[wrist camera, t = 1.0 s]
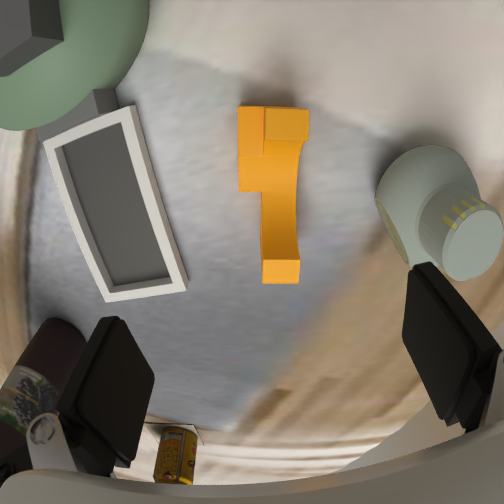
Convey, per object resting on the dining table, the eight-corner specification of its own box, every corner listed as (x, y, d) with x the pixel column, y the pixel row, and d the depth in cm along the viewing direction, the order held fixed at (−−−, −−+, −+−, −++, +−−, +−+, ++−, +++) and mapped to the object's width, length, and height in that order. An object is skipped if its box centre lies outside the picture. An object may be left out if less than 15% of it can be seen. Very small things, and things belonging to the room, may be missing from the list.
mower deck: (136, -72, 14) (97, -116, 6) (219, 276, 30) (208, 343, 22) (-6, 10, 15) (-64, 5, 7) (76, 299, 31) (40, 353, 23)
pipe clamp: (239, 105, 23) (235, 108, 17) (295, 106, 23) (309, 110, 17) (240, 243, 28) (237, 283, 23) (289, 243, 28) (298, 283, 23)
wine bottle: (95, 340, 34) (11, 564, 8) (79, 364, 37) (8, 554, 10) (50, 307, 32) (-62, 517, 6) (38, 335, 35) (-52, 517, 8)
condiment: (204, 444, 46) (198, 505, 35) (157, 442, 46) (147, 500, 36) (193, 423, 42) (185, 492, 32) (143, 421, 43) (128, 485, 32)
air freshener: (354, 169, 25) (406, 211, 16) (428, 125, 23) (501, 148, 14) (399, 262, 29) (445, 326, 20) (462, 221, 27) (520, 271, 18)
